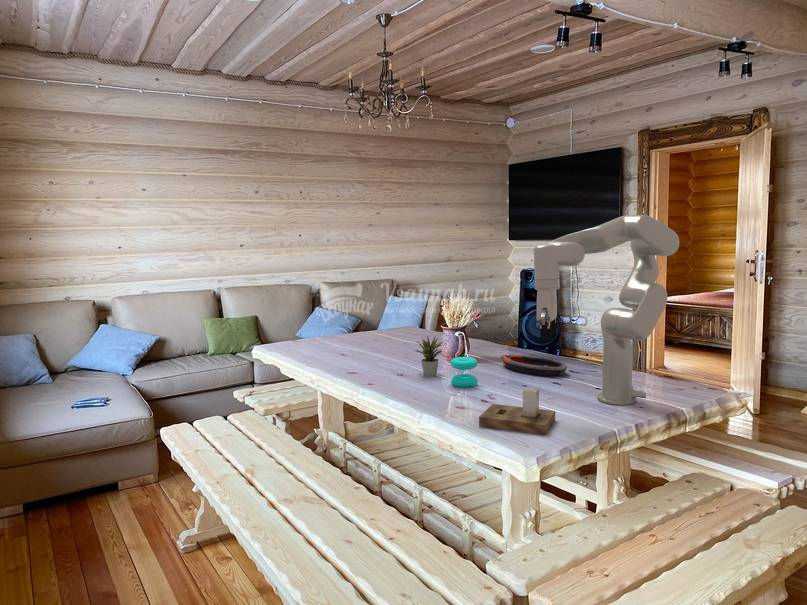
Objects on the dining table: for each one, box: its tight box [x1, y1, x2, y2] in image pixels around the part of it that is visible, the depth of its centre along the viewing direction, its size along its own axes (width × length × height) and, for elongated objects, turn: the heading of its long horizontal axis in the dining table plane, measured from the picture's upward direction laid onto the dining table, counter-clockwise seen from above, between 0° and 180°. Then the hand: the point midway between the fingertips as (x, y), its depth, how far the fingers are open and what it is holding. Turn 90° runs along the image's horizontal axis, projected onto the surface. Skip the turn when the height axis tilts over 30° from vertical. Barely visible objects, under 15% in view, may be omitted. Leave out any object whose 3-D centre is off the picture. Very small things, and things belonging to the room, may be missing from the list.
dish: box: [500, 354, 568, 377], centre depth 248 cm, size 16×31×5 cm, turn 41°
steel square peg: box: [522, 387, 540, 419], centre depth 181 cm, size 4×4×11 cm
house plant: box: [413, 335, 447, 377], centre depth 242 cm, size 14×14×16 cm
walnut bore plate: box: [478, 403, 556, 436], centre depth 183 cm, size 20×14×3 cm
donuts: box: [450, 356, 478, 388], centre depth 228 cm, size 10×10×10 cm
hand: (548, 337), depth 190 cm, fingers open, 9 cm apart
